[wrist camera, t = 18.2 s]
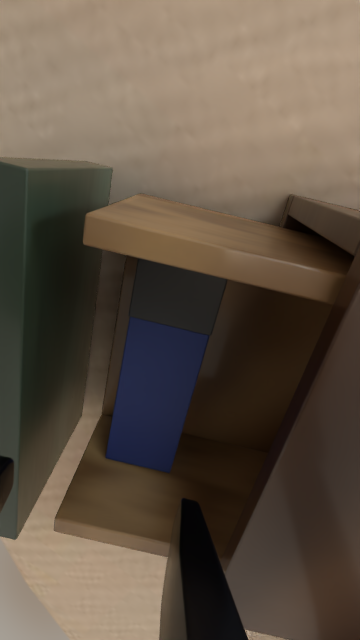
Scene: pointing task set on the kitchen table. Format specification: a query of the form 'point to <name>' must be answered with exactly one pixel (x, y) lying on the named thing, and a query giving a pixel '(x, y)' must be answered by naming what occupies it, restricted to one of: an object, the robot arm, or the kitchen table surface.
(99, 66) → the kitchen table surface
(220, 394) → the drawer
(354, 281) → the cabinet
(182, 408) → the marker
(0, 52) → the kitchen table surface
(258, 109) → the kitchen table surface
